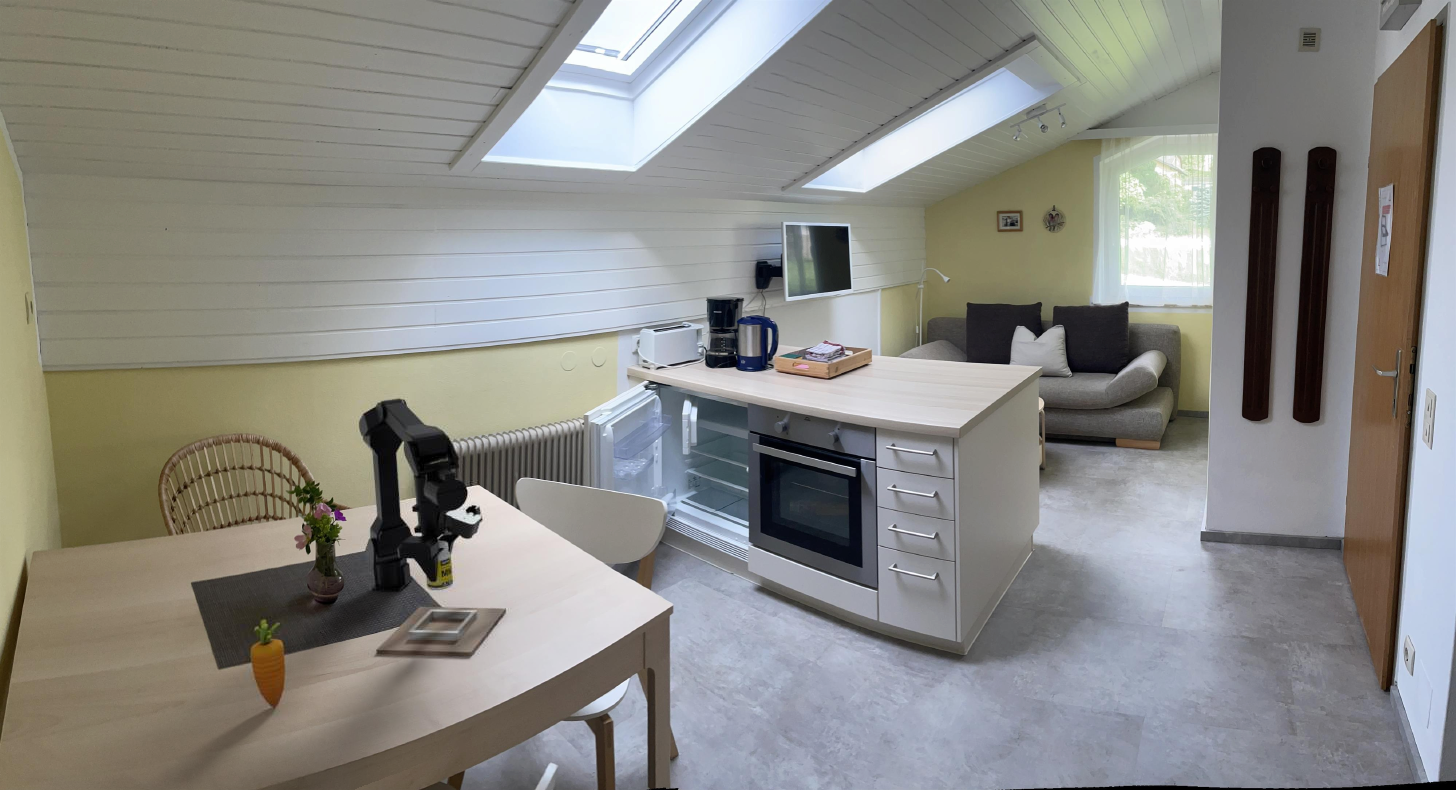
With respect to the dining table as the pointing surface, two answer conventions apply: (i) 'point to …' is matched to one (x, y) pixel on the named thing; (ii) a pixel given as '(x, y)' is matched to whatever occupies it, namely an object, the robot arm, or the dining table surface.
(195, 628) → the dining table surface
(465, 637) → the board
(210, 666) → the dining table surface
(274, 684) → the carrot
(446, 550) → the supplement bottle
